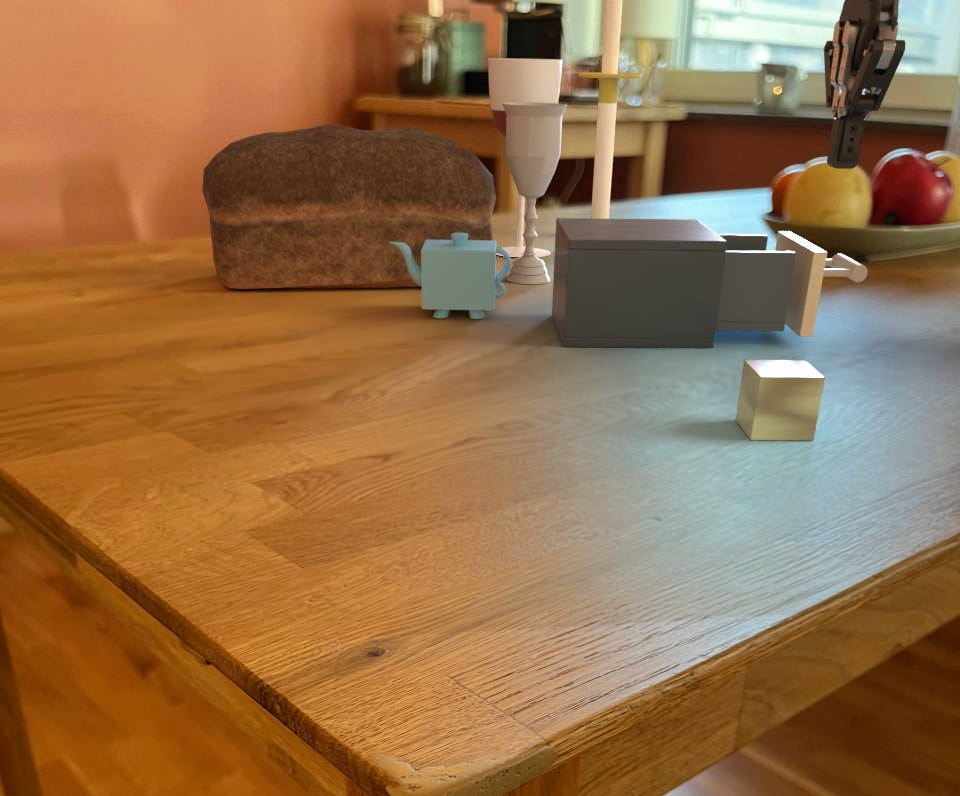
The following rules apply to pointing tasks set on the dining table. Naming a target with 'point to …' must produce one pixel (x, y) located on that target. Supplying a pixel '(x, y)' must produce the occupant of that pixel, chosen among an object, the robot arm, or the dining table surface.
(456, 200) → the bread
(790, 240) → the drawer
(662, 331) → the cabinet
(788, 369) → the block
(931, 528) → the dining table surface
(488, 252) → the teapot
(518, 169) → the chalice
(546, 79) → the wineglass
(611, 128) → the candle
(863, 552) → the dining table surface
